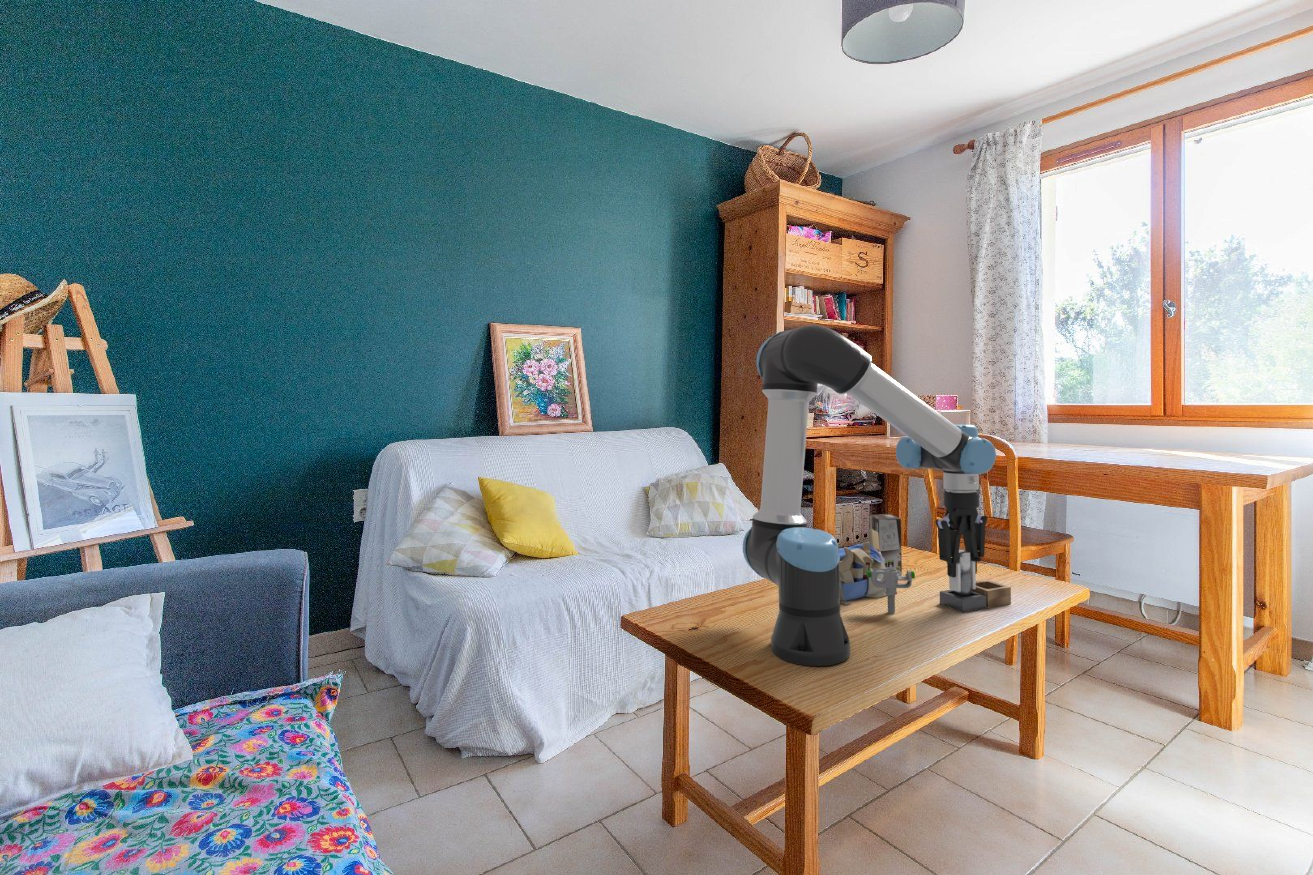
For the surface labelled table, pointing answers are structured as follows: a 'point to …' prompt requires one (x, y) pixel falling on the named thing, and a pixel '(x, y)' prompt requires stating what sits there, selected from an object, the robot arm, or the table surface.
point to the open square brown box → (993, 593)
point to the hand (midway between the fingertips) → (962, 588)
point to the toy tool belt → (860, 569)
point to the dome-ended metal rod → (964, 573)
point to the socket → (963, 601)
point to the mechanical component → (890, 583)
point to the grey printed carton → (889, 539)
